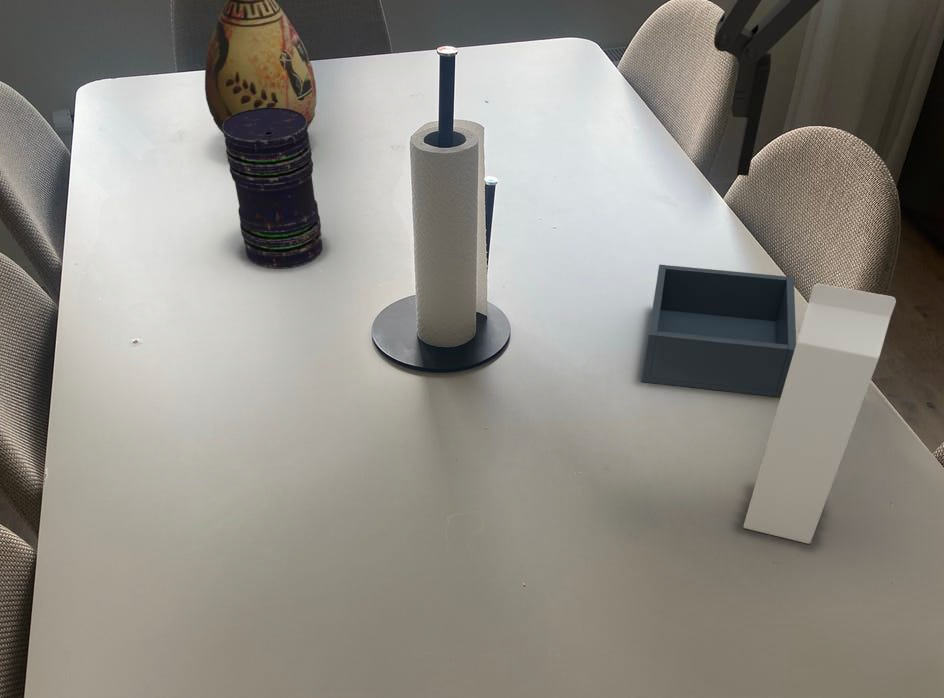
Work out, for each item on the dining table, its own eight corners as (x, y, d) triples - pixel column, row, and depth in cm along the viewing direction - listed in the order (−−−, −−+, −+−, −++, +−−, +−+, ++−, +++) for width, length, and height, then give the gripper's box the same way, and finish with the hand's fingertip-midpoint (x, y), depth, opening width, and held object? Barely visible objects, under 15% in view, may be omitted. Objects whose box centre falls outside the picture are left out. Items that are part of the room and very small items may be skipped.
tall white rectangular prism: (809, 545, 83) (895, 319, 67) (741, 528, 85) (807, 303, 68) (819, 502, 87) (902, 278, 70) (753, 487, 88) (819, 263, 72)
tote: (781, 323, 107) (794, 276, 103) (782, 397, 98) (796, 349, 93) (652, 310, 109) (659, 264, 105) (641, 381, 100) (648, 334, 96)
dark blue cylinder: (240, 237, 122) (216, 112, 110) (315, 226, 123) (299, 102, 112) (251, 274, 115) (226, 146, 104) (330, 262, 117) (314, 135, 106)
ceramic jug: (317, 173, 134) (285, -88, 111) (208, 173, 134) (155, -87, 111) (329, 125, 145) (302, -122, 122) (229, 125, 145) (184, -121, 122)
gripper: (713, -252, 47) (654, 184, 63) (1270, -247, 43) (1055, 216, 59) (720, -272, 51) (664, 138, 68) (1222, -268, 48) (1035, 166, 64)
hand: (846, 175), depth 63 cm, fingers open, 13 cm apart
